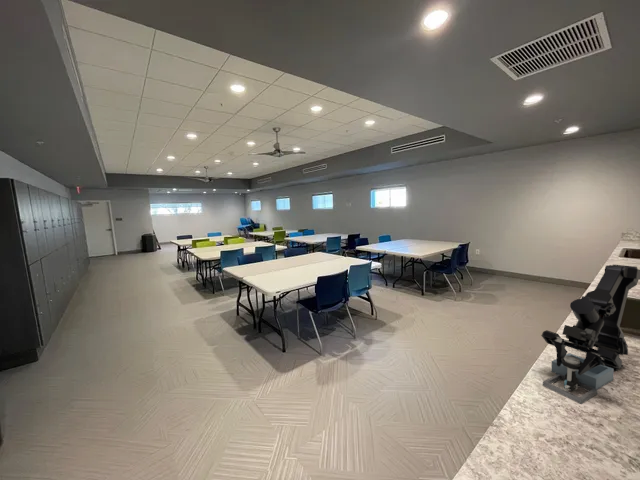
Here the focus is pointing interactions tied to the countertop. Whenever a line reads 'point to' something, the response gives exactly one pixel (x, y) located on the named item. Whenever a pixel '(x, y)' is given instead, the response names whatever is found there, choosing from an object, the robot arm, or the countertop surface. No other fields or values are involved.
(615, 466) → the countertop surface
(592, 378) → the plastic bin
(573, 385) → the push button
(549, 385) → the silver picture frame
